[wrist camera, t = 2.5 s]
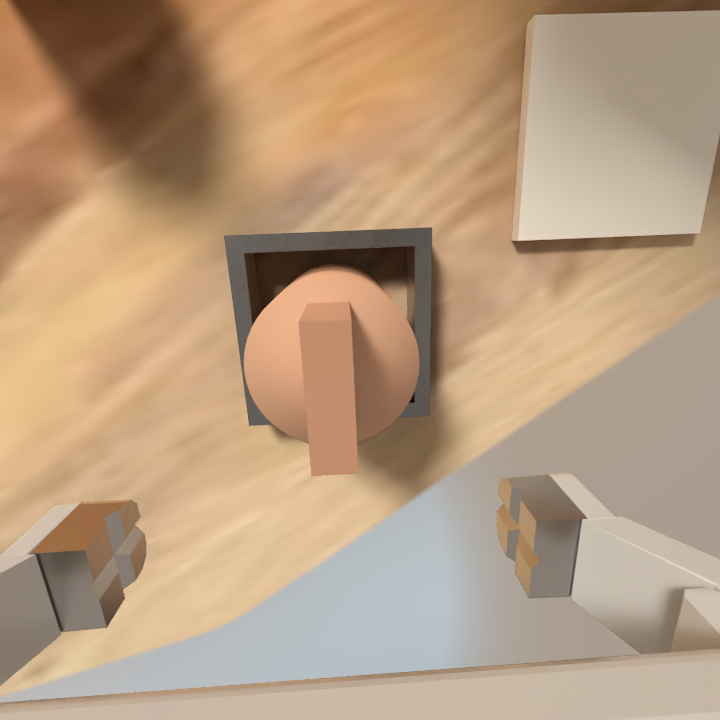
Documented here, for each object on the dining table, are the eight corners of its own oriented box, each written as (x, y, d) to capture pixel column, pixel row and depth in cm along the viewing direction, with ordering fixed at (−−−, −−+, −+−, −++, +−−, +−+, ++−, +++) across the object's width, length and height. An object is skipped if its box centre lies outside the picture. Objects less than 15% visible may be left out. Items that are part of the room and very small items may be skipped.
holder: (237, 235, 26) (224, 235, 23) (422, 228, 26) (432, 227, 23) (258, 407, 30) (249, 425, 27) (421, 398, 30) (429, 415, 27)
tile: (526, 23, 23) (534, 14, 22) (728, 18, 24) (745, 9, 23) (511, 240, 27) (517, 240, 26) (687, 233, 27) (699, 233, 26)
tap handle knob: (271, 266, 27) (201, 296, 13) (392, 261, 27) (442, 286, 14) (283, 379, 29) (233, 503, 16) (393, 374, 29) (437, 490, 16)
